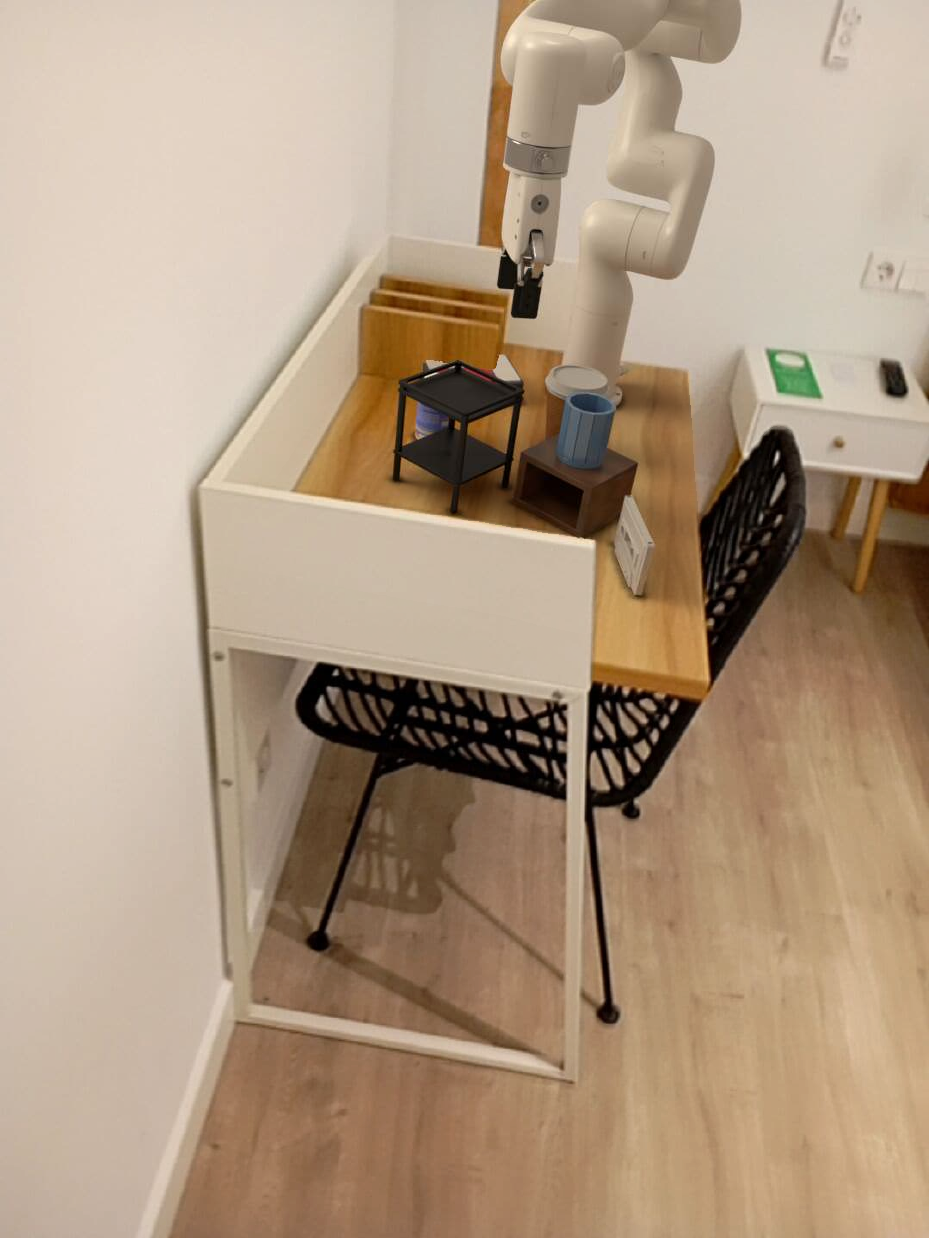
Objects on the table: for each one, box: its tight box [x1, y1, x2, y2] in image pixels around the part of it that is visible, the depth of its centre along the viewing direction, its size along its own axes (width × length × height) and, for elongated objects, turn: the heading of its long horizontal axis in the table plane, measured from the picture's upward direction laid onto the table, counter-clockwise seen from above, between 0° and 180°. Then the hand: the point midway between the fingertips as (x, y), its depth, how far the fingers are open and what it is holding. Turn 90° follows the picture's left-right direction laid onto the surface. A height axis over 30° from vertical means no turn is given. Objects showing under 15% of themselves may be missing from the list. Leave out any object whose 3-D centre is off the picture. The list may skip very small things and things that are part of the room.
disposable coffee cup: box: [544, 364, 609, 441], centre depth 153 cm, size 10×10×12 cm
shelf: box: [512, 434, 639, 539], centre depth 140 cm, size 11×12×8 cm
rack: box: [392, 360, 526, 515], centre depth 140 cm, size 12×12×15 cm
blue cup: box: [556, 392, 617, 469], centre depth 135 cm, size 7×7×8 cm
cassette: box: [613, 495, 655, 596], centre depth 129 cm, size 12×2×8 cm, turn 6°
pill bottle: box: [414, 373, 449, 440], centre depth 151 cm, size 5×5×10 cm
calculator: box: [420, 354, 525, 392], centre depth 169 cm, size 11×4×15 cm
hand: (516, 302), depth 127 cm, fingers open, 9 cm apart
